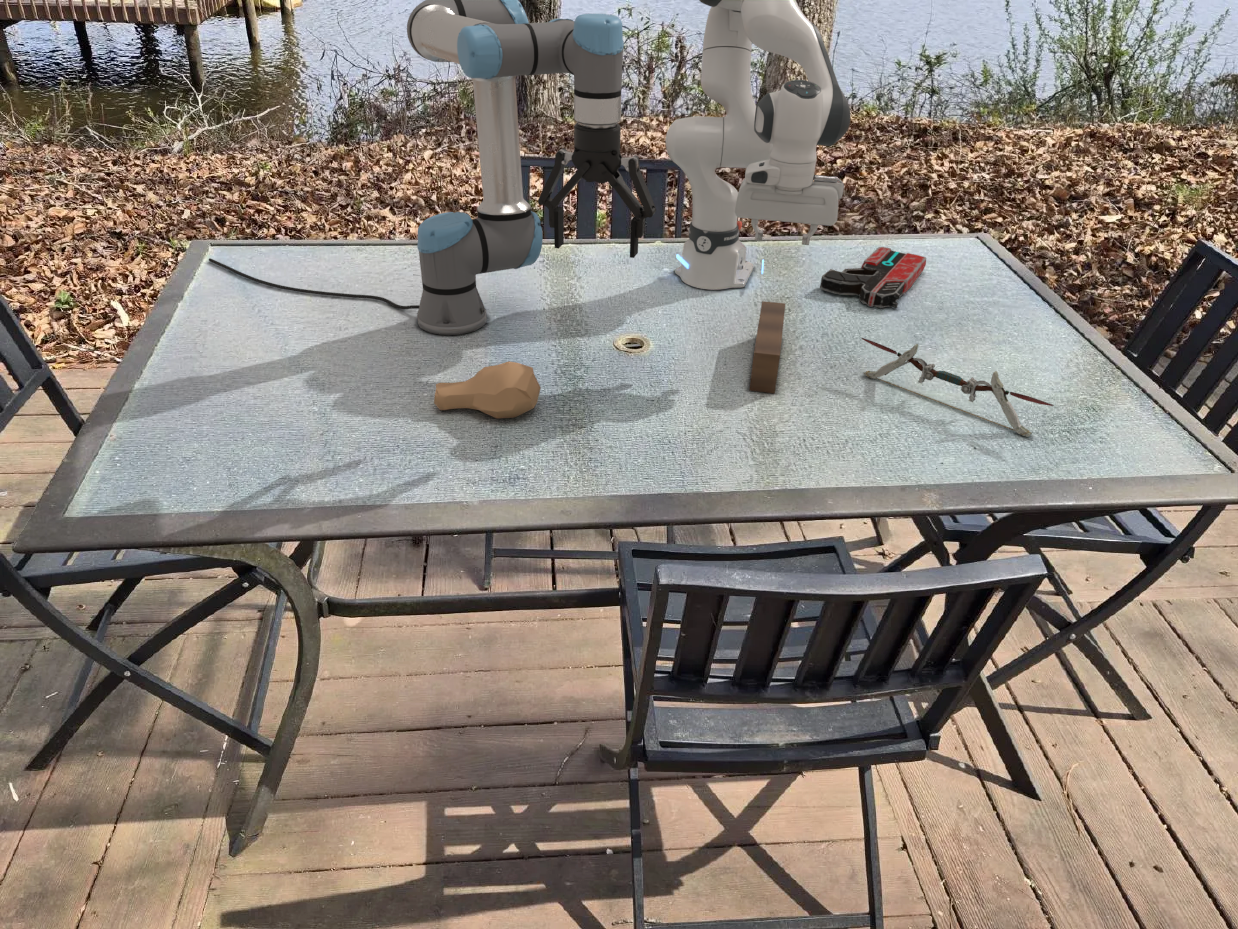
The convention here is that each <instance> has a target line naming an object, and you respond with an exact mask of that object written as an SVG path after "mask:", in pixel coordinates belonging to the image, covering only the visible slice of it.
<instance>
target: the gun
mask: <svg viewBox="0 0 1238 929" xmlns="http://www.w3.org/2000/svg"><path fill="white" fill-rule="evenodd" d="M926 266H927V257H925V256H923V255H919V254H914V253H910V252H906V253H905V252H901V251H896V250H892V248H891V247H886V246H878V247H877V248H876V249H875V250H874V251H873V252H872V253H871V254H870V255H869V256H868V257H866V259H864V261H863V263H862V265H861V266H860V267H854V268H844V269H843V270H842V271H839V270H835V269H832V268H830V269H829V270H828V271H826V272H825V273H824V274H822V275H821V278H820V282H819V283H820V284H819V289H820V290H822V291H824V292H828V293H831V294H835V295H841V296H859V298H858V301H860V302H861V303H862V304H863V305H867V307H870V308H872V307H875V308H879V309H882V308H888V307H889V308H892V309H893V308H894V309H897V308H898V305H899V302H897V301H898V300H899V299H900V298H901V296H904V295H905V294H906V293H907V292H908V291H909V290H910V289H911V288H912V286H913V285H914V284H915V283H916V281H917V280H918V278H920V275H921V274H922V273H923V272H924V270H925V268H926Z"/></svg>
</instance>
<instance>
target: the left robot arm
mask: <svg viewBox="0 0 1238 929" xmlns="http://www.w3.org/2000/svg"><path fill="white" fill-rule="evenodd" d="M406 35H407V39H408V41H409V44H410V46H411V48H412V49H413V50H414V52H415V53H416V54H417V55H418V56H420V57H421V58H423V59H425V60H428V61H430V62H435V63H454V64H457V65H459V67H460V68H461V70H462V71H463V74H464V75H465V76H466V77H467V78H470V79H471V80H472V88H473V98H474V111H475V122H476V130H477V144H478V155H479V165H480V166H479V168H480V177H481V178H480V179H481V188H482V190H481V191H482V197H483V198H482V199H483V200H482V201H481V202H480V203H479V205H478V206H477V210H476V212H477V218H472V217H471V216H470V214H468V213H466V212H463V211H456V212H453V211H446V212H442V213H441V212H440V213H438V214H435V215H432V216H430V217H427V218H426V219H424V220H423V221H422V222H421V223H420V224H419V226H418V227H417V246H416V248H417V250H418V258H419V267H420V275H421V276H420V278H421V284H422V292H421V297H420V302H419V304H417V305H400V304H397V303H395V302H393V301H391V300H390V299H387V298H385V297H382V296H378V295H368V294H355V293H353V294H352V293H344V292H332V291H331V292H330V291H320V290H313V289H305V288H297V287H292V286H287V285H283V284H278V283H273V282H269V281H266V280H262V279H259V278H256V277H253V276H251V275H248V274H246V273H243V272H241V271H240V270H237V269H235V268H233V267H231V266H228V265H227V264H224V263H222V262H220V261H218V260H215V259H213V258H211V257H210V258H208V261H209V262H210V263H212V264H215V265H216V266H219V267H221V268H223V269H225V270H228V271H229V272H231V273H234V274H235V275H239V276H241V277H243V278H245V279H248V280H251V281H253V282H256V283H259V284H262V285H265V286H268V287H272V288H275V289H276V288H277V289H281V290H287V291H292V292H297V293H303V294H311V295H320V296H331V297H343V298H352V299H353V298H354V299H370V300H376V301H381V302H384V303H386V304H388V305H390V306H392V307H394V308H396V309H399V310H417V309H418V310H417V313H416V318H417V325H418V326H419V328H420V329H421V330H423V331H424V332H427V333H430V334H433V335H440V336H459V335H465V334H469V333H473V332H476V331H477V330H480V329H481V328H483V327H484V326H485V325H486V323H487V320H488V316H487V309H486V306H485V304H484V302H483V299H482V298H481V295H480V293H479V291H478V288H477V278H476V277H477V275H480V274H487V273H494V272H501V271H506V270H512V269H513V270H518V269H521V268H524V267H528V266H532V265H534V264H535V263H536V262H537V261H538V259H539V258H540V255H541V252H542V249H543V238H544V237H543V234H544V233H543V227H542V226H541V223H542V222H541V220H540V217H539V215H538V214H537V213H536V212H534V211H533V210H532V206H531V204H530V203H529V202H527V200H526V199H525V198H524V190H523V189H524V188H523V175H522V160H521V144H520V130H519V129H520V128H519V117H518V116H519V114H518V100H517V86H516V84H517V83H516V79H517V77H518V76H519V77H520V76H538V75H540V76H541V75H551V74H552V75H553V74H569V75H572V76H573V101H574V102H573V120H574V121H575V122H576V123H575V124H574V126H573V140H574V141H573V147H574V150H573V152H572V151H568V150H567V149H566V148H564V147H562V148H560V149H559V150H557V151H556V152H555V156H554V165H553V167H552V170H551V171H550V172H549V176H548V178H547V180H546V182H545V184H544V186H543V188H542V190H541V192H540V195H539V197H538V199H537V203H538V205H539V206H544V207H546V208H547V209H548V225H549V228H552V229H553V230H554V232H553V235H554V237H553V238H554V241H553V242H554V249H559V250H560V248H561V247H562V246H564V243H565V242H564V240H565V238H564V237H565V236H564V235H565V233H564V206H560V205H561V203H562V202H563V201H564V199H565V198H566V197H567V196H568V195H569V194H570V192H571V191H572V190H573V189H574V188H575V187H576V186H577V184H578V183H579V182H580V181H581V180H582V179H583V180H584V181H585V182H586V183H594V182H596V183H598V184H603V185H605V183H608V184H609V186H610V187H611V188H613V189H614V190H615V192H616V193H617V194H618V196H619V198H621V200H622V201H623V203H624V205H626V207H627V209H628V210H629V211H630V213H631V214H632V216H633V217H632V218H631V219H630V234H629V235H630V236H629V238H630V239H629V259H634V258H635V257H636V256H637V255H638V253H639V239H642V238H643V236H644V234H645V228H646V226H645V225H646V219H647V218H652V217H653V216H654V215H655V214H656V213H657V207H656V205H655V202H654V199H653V198H652V195H651V193H650V191H649V188H648V186H647V185H648V184H647V183H646V181H645V178H644V176H643V174H642V171H641V166H640V157H639V156H638V155H636V154H635V155H633V156H632V157H631V156H630V157H623V156H622V154H621V134H622V133H621V130H622V129H621V128H622V127H621V125H620V124H619V122H620V121H622V86H623V85H622V84H623V62H624V61H623V60H624V45H625V44H624V39H623V38H624V37H623V22H622V19H621V18H620V17H619V16H617V15H614V14H606V13H583V14H578V16H576V17H575V18H574V20H573V19H570V18H554V19H551V20H549V21H547V22H545V21H544V22H529V19H528V16H527V13H526V11H525V9H524V7H523V5H522V3H521V2H520V1H519V0H423V1H422V2H420V3H419V4H417V5H416V6H415V7H414V8H413V9H412V11H411V13H410V14H409V16H408V19H407V24H406ZM570 161H571V162H572V164H573V165H574V167H575V168H576V171H575V172H574V174H572V175H571V176H570V179H568V180H567V182H566V183H565V184H564V185H563V187H562V188H560V190H559V191H558V193H557V194H555V196H554V197H551V196H552V194H553V192H554V190H555V188H556V186H557V183H558V182H559V179H560V178H561V176H562V173H563V171H564V169H565V167H566V165H567V166H568V164H569V163H570ZM622 166H623V167H624V169H625V171H626V172H627V173H628V174H629V178H630V180H631V183H632V186H633V188H634V190H635V192H636V195H637V197H638V199H639V200H638V199H637V197H636V195H635V194H634V193H633V191H632V190H631V188H630V187H629V186H628V185H627V183H626V182H625V180H624V177H623V175H622V173H620V171H619V170H620V168H621V167H622Z"/></svg>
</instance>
